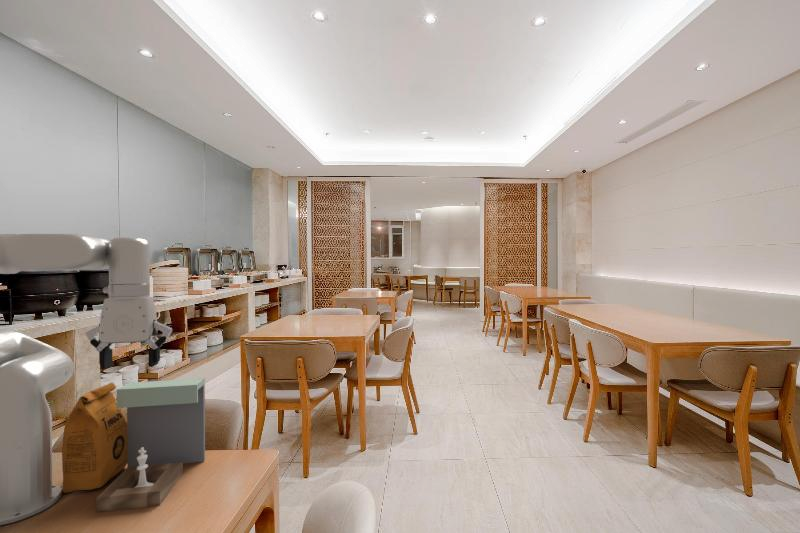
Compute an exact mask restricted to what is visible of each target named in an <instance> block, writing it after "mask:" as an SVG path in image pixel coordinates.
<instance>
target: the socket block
mask: <svg viewBox="0 0 800 533" xmlns="http://www.w3.org/2000/svg"><path fill="white" fill-rule="evenodd" d="M183 464H184V463H183V462H178V463H167V464H157V465H148V467H147V468H145V474H146V480H147V482H149V483H154V485H153V486H144V487H136V486H135V485H138V481H139V473H140V470H137V467H138V466H135V467H128V468H127V467H126V469H125V470H123V472H121V474H120V475H119V476H117V478H116V479H115V480H113V481H112V483H110V484H109V486H107V487H106V488H105V489H104V490H103V491H102V492H101V493H100V494H99V495H98V496H97V497H96V498H95V499H96V500H95V501H96V513H102V512H109V511H119V510H129V509H137V508H144V507H145V508H147V507H154V506H155V507H156V506H161V504H162V503H163V502H164V501H165V499H166V497H167V496H168V495H169V494H170V492H171V491H172V490H173V488H174V487H175V485H176V484H177V482H179V480H180V479H181V477H182V476H183V475H184V465H183Z"/></svg>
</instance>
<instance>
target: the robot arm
mask: <svg viewBox="0 0 800 533" xmlns="http://www.w3.org/2000/svg"><path fill="white" fill-rule="evenodd" d="M150 251H151V249H150V243H149V241H148V240H146V239H144V238H139V237H114V238H112V239H109V238H101V237H95V236H89V235H83V234H77V233H76V234H74V233H73V234H72V233H19V234H18V233H17V234H16V233H0V275H1V274H2V275H10V274H11V275H12V274H13V275H15V274H18V273H20V272H30V271H31V272H32V271H33V272H34V271H37V272H38V271H41V272H42V271H102V270H103V271H104V270H108V286H104V287H103V288H102V292H103V293H104V294H107V295H108V296H107V297H108V298H104V300H103V303H102V307H101V314H100V320H99V325H97V326H96V327H94V328H91V329H90V330H87V331H86V332H85V335H86V337H87V339H88V341H89V343H90V345H92V346H93V347H94V348H95V349H96V351H97V352H99V353H98V355H99V358H98V359H99V360H98V363H99V365H100V370H106V369H108V368H110V367H112V366H113V349H112V348H111V347H112V345H113V344H129V343H130V344H131V343H142V342H145V343H146V344H147V345H148V346H149V347H150V349H148V367H149V368H153V367H155V366H156V365H158V364H159V362H160V361H161V347H162V346H163V345H164V344H165V343H166V342H167V341H168V340H169V337H170V336H171V335H172V333H173V328H172V327H170V326H168V325H165V324H163V323H161V322H159V321H158V316H157V310H156V305H155V300H154V297H153V296H151V291H150V290H151V288H150V287H151V286H150V283H151V282H150V278H151V277H150V276H151V275H150V272H151V271H150V269H151V267H150V265H151V263H150V261H151V258H150V254H151V253H150ZM158 331H160V332H162V334H161V336H160V337H159V338H158V337H157V336H158ZM98 334H99V335H98ZM74 371H75V364H74V361H73V360H72V357H70V356H69V355H68V354H67V353H66V352H65V351H62V350H60V349H59V348H56V347H55V346H52V345H50V344H47V343H44V342H43V341H42V340H41V341H40V340H38V339H36V338H35V337H31V336H29V335H28V334H25V333H22V332H19V331H16V330H12V329H6V328H0V526H4V525H8V524H13V523H16V522H18V521H22V520H25V519H27V518H30V517H33V516H34V515H37V514H39V513H41V512H43V511H45V510H46V509H48V508H49V507H51V506H53V505H54V504H55V503H56V502H57V501H59V499H60V498H61V497H62V494H63V487H61V486H59V485H57V484H53V420H52V419H53V416H52V411H51V408H50V405H49V403H48V401H47V398H46V394H48V393H50V392H53V391H54V390H56V389H58V388H60V387H62V386H63V385H65V384H66V383H67V382H68V381H69V380H70V379H71V378H72V376H73V375H74Z"/></svg>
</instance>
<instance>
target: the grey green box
mask: <svg viewBox="0 0 800 533" xmlns="http://www.w3.org/2000/svg"><path fill="white" fill-rule="evenodd" d="M205 380H206V379H205V378H204V377H203V378H188V379H186V378H185V379H170V380H152V381H151V380H150V381H135V382H134V381H133V382H128V383H126V384H124V385H123V386H121V387H119V388H116V403H117V408H121V409H123V408H124V409H125V408H126V418H127V465H126V466H127V467H126V469H127V468H128V467H135V466H139V463H138V460H137V457H138V456H140V455H141V453H138V451H139V450H141V448H142V447H144V450H146V453H144V454H147V455H148V457H147V459H146V462H145V464H147V465H157V464H167V463H178V462H183V464H191V463H192V464H193V463H202V462H205V461H206V402H205V401H206V400H205V399H206V398H205V397H206V388H205V387H206V385H205V384H206V381H205Z"/></svg>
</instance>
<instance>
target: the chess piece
mask: <svg viewBox="0 0 800 533" xmlns="http://www.w3.org/2000/svg"><path fill="white" fill-rule="evenodd" d="M138 453H141V455H140V456H138V457H137V460H138V463H139V466H138V467H137V470H140V473H139V481H138V484H136V486H135V487H144V486H153V485H154V483H155V482H154V483H149V482H147V480H146V474H145V468H147V467H148V465H147V464H145V462H146V459H147V457H148V455H147V454H144V453H146V450H144V447H142V448H141V450H139V451H138Z"/></svg>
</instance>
